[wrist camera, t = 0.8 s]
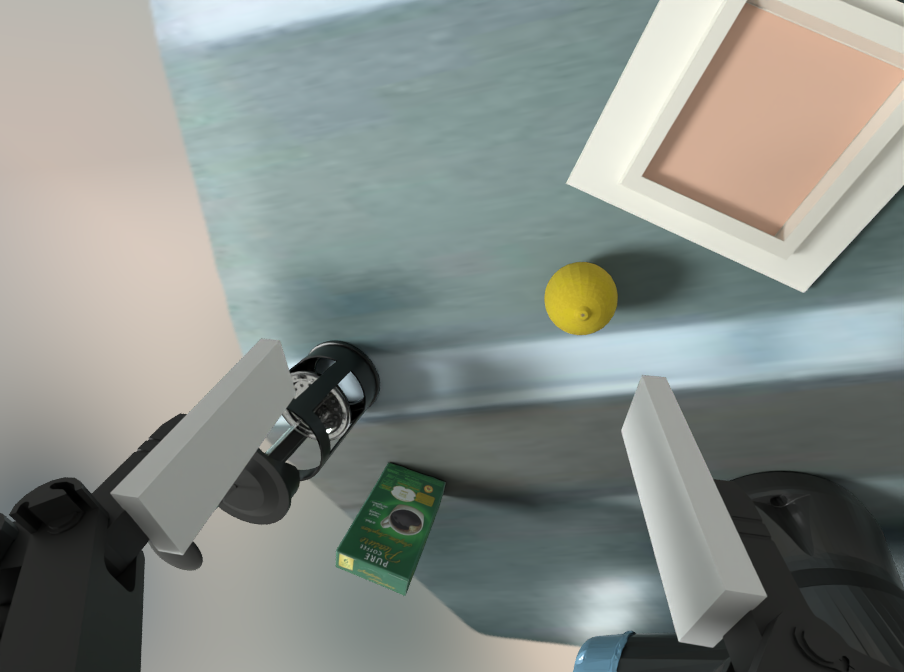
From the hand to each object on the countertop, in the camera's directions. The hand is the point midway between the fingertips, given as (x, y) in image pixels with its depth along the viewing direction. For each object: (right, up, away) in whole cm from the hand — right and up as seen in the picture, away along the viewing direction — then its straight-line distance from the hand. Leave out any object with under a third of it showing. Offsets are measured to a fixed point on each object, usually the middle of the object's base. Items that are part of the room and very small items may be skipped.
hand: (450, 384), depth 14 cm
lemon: (+11, +7, +20) cm, 24 cm away
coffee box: (-5, -16, +35) cm, 39 cm away
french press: (-13, -3, +31) cm, 34 cm away
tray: (+21, +16, +13) cm, 30 cm away
